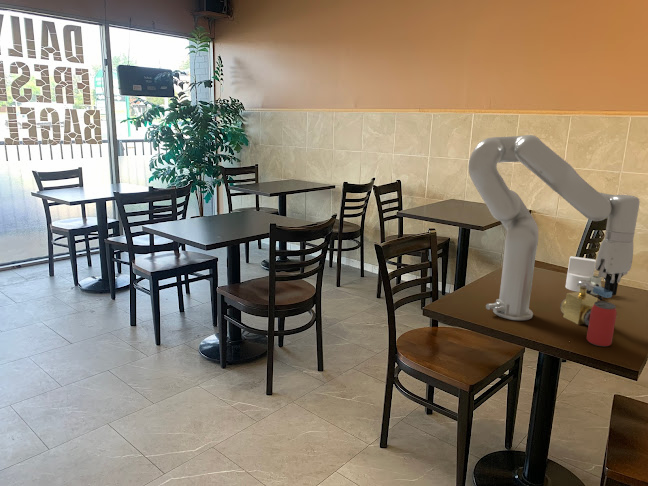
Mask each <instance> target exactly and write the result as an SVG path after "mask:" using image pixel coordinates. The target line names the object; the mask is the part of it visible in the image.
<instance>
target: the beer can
mask: <svg viewBox="0 0 648 486" xmlns="http://www.w3.org/2000/svg"><path fill="white" fill-rule="evenodd" d="M616 308H617V307H616V305H615V304H614V303H612V302H609V301H608V302H607V301H603V300H602V301H600V300H598V301H597V302H595V303H594V305H593V307H592V309H591V314H590V320H589V326H588V325H587V326H588V327H587V332H586V341H587V342H588V343H590V344H591V345H593V346H597V347H609V346H611V345H612V342H613V338H614V332H615V327H616V326H615V325H616V320H617V309H616Z"/></svg>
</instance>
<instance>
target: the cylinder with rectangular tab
mask: <svg viewBox="0 0 648 486" xmlns="http://www.w3.org/2000/svg"><path fill="white" fill-rule="evenodd" d="M596 260H597V259H594V258H593V259H592V258H588V257H587V258H586V257H579V256H573V255H571V256H569V261H568V266H567V267H568V269H567V273H566V280H565V288H566V289H567V290H569V291H572V292H579V290H580V287H578V286H577V285H578V281H579V280H586V281H589V282H590V281H591V276H595V270H596V269H595V266H596ZM587 290H588V289H587Z"/></svg>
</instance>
